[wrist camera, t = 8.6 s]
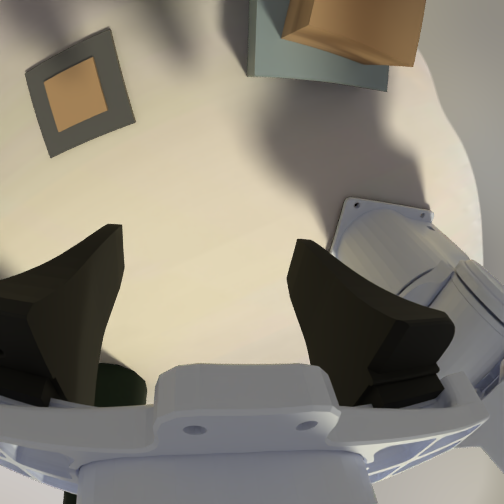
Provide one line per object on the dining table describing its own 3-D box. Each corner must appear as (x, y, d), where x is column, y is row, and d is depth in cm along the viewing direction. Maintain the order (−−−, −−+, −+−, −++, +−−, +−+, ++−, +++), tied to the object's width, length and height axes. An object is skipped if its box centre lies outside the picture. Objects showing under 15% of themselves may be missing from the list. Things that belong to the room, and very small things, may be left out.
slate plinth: (362, -10, 14) (390, -21, 11) (358, 87, 19) (386, 91, 15) (249, -29, 13) (258, -49, 10) (246, 76, 18) (254, 76, 14)
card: (111, 29, 14) (108, 28, 14) (135, 122, 18) (134, 123, 18) (26, 73, 14) (23, 73, 14) (52, 157, 18) (49, 159, 18)
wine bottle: (89, 342, 28) (58, 624, 3) (160, 386, 33) (168, 630, 8) (59, 367, 30) (27, 597, 4) (124, 405, 35) (120, 613, 9)
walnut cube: (378, -4, 12) (428, -19, 8) (363, 64, 14) (413, 66, 10) (298, -34, 11) (330, -66, 7) (280, 38, 13) (308, 25, 9)
